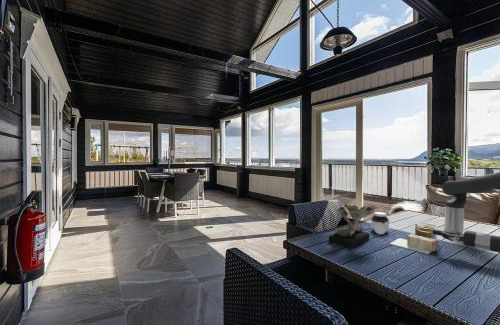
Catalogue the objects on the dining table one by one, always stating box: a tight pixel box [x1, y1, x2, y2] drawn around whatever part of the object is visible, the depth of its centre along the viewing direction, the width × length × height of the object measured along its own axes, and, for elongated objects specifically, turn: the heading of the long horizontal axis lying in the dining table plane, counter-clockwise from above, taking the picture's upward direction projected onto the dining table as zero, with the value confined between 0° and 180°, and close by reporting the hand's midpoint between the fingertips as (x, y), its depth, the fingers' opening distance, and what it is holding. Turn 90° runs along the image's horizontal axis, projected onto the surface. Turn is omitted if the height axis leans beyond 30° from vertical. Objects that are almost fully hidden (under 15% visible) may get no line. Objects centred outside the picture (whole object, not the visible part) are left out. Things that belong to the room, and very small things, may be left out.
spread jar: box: [370, 211, 390, 235], centre depth 165 cm, size 12×11×12 cm
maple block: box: [406, 233, 437, 252], centre depth 138 cm, size 5×5×12 cm
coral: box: [328, 203, 378, 250], centre depth 146 cm, size 25×20×22 cm
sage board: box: [389, 237, 433, 255], centre depth 141 cm, size 14×18×1 cm
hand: (433, 231), depth 134 cm, fingers closed
